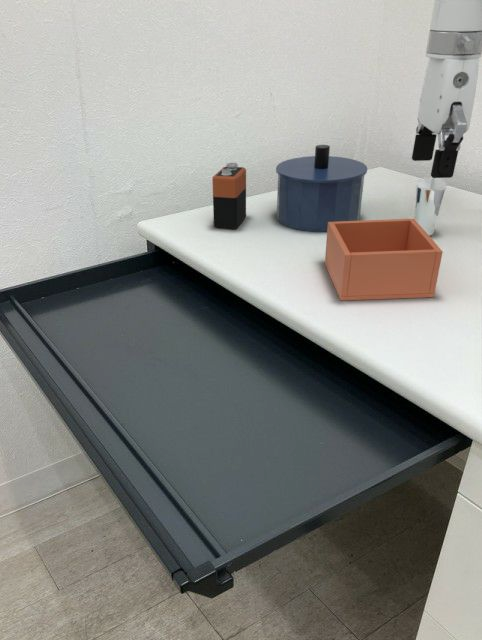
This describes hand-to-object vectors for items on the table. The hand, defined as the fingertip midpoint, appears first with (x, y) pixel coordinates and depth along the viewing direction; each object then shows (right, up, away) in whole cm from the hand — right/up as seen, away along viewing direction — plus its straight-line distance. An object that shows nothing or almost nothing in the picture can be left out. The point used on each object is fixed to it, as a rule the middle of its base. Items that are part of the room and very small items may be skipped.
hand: (431, 168), depth 94 cm
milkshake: (+1, -9, +6) cm, 11 cm away
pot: (-15, -4, +15) cm, 21 cm away
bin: (-11, -19, -8) cm, 23 cm away
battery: (-31, -5, +14) cm, 35 cm away
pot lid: (-15, +3, +10) cm, 19 cm away
